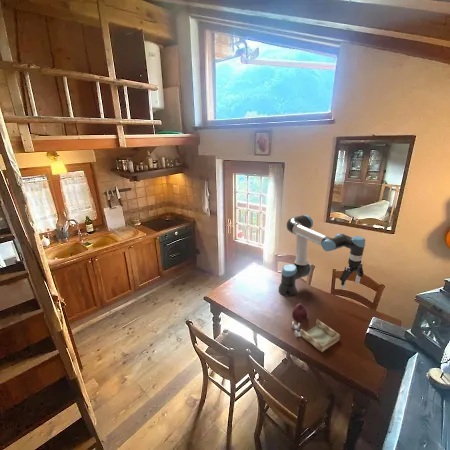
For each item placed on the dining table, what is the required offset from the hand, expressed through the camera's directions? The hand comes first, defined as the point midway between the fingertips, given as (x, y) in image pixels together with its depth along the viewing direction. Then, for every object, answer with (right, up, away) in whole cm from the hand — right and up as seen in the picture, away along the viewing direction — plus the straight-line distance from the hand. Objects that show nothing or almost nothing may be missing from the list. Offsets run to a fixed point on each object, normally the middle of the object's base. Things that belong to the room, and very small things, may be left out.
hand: (349, 286), depth 172 cm
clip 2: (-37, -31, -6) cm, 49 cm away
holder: (-24, -32, -8) cm, 41 cm away
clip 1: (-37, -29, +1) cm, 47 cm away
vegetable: (-32, -25, +11) cm, 42 cm away
